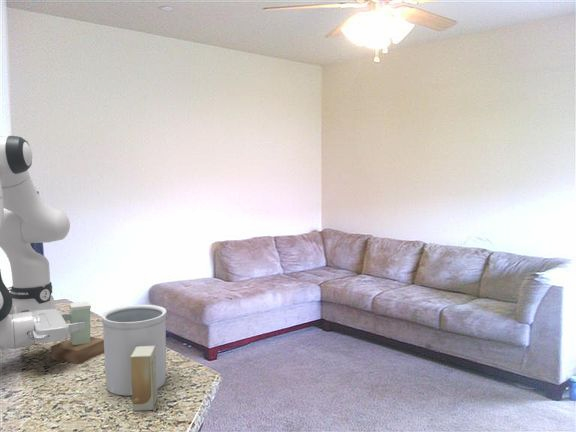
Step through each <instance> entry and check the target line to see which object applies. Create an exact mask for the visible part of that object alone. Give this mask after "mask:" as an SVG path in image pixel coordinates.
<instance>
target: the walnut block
mask: <svg viewBox="0 0 576 432" xmlns="http://www.w3.org/2000/svg"><path fill="white" fill-rule="evenodd" d="M50 348H51V359H52V360H55V361H61V362H65V363H71V364H72V363H73V364H77V365H80V364H83V363H85V362H87V361H89V360H91V359H94V358H96V357H98V356H100V355H102V354H104V338H101V337H95V336H90V343H87V344H79V345H72V343H71V341H70V338H68V339H66V340H63V341H60V342H58V343H56V344H54V345H51V347H50Z"/></svg>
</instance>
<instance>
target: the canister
mask: <svg viewBox="0 0 576 432" xmlns="http://www.w3.org/2000/svg"><path fill="white" fill-rule="evenodd" d="M68 304H69V305H68V306H69V313H70V320H69V324H73V323H77V322H79V321H84V322H85V328H84V329H79V330H77V331H74V332H72V333H69V339H70V341H71V343H72V345H79V344H87V343H90V337H91V303H89V301H79V302H70V303H68Z"/></svg>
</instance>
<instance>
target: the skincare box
mask: <svg viewBox="0 0 576 432" xmlns="http://www.w3.org/2000/svg"><path fill="white" fill-rule="evenodd" d="M130 358H131V379H132V395H131V396H132V397H131V398H132V399H131V400H132V411H133V412H138V411H152V410H154V407H155V406H156V402H157V401H158V389H157V376H156V352H155V346H139V347H136V348H135V349H134V351H133V353H132V355H131V357H130Z"/></svg>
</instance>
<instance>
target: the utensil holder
mask: <svg viewBox="0 0 576 432" xmlns="http://www.w3.org/2000/svg"><path fill="white" fill-rule="evenodd" d="M167 312H168V311H167V309H166V308H165V307H163V306H161V305H160V306H159V305H154V304H130V305H123V306H118V307H115V308H111V309H109V310H107V311H104V312H103V313H102V314H101V322H102V328H103V329H102V330H103V332H102V333H103V339H104V353H103V355H104V373H105V384H106V390H107V391H109V393H112V394H114V395H118V396H132V379H131V358H130V357H131V355H132V353H133V351H134V349H135V348H136V347H139V346H155V352H156V376H157V390H158V389H159V388H161V387H163V386H164V384H165V383H166V379H167V377H166V376H167V341H166V339H167V333H166V331H167V330H166V329H167V328H166V326H167V325H166V323H167V322H166V318H167V314H168V313H167Z"/></svg>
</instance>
